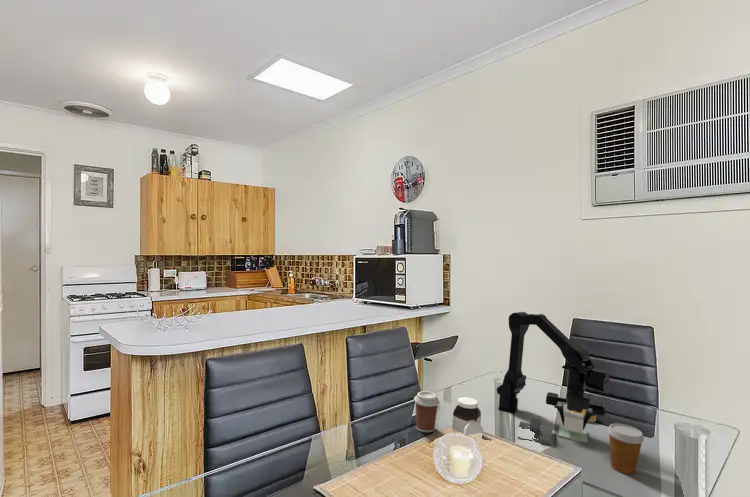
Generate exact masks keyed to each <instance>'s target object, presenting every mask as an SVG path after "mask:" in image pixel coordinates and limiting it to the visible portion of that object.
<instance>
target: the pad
mask: <svg viewBox="0 0 750 497" xmlns="http://www.w3.org/2000/svg"><path fill="white" fill-rule="evenodd" d="M558 437H560V438H562V439H568V440H572V441H575V442H580V443H583V444H588V431H587V430H583V433H579V432H574V431H570V430H566V429H564V425H560V424H559V427H558Z"/></svg>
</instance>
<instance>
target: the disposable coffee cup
mask: <svg viewBox="0 0 750 497" xmlns="http://www.w3.org/2000/svg"><path fill="white" fill-rule="evenodd" d="M607 432H608V436H609V438H608V440H609V451H610V464H611V465H610V467H612V469H614V470H615V471H616V472H619V473H621V474H624V475H634V474H636V469H637V465H638V460H639V458H640V457H639V456H640V452H641V448H642V443H643V441H644V440H645V437H644V435H643V431H641V430H639V429H638V428H636V427H634V426H631V425H628V424H623V423H610V425H609V426H608V427H607Z"/></svg>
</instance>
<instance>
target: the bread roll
mask: <svg viewBox="0 0 750 497" xmlns="http://www.w3.org/2000/svg"><path fill="white" fill-rule="evenodd" d="M569 411H570V410H569ZM570 412H574V413H579V412H577V411H570ZM579 414H583V419H584V414H585V409H583V411H582V412H581V413H579ZM596 421H597V414H596V415H595V416H591V417H590V418H589V420H588V422H587V423H595V422H596Z"/></svg>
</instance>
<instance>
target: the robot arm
mask: <svg viewBox="0 0 750 497" xmlns="http://www.w3.org/2000/svg"><path fill="white" fill-rule="evenodd" d="M530 325H533V326H534V325H535V326H537V327H538V328H539V329H540V330H541V332H543V333H544V334H545V335H546V337H548V338H549V339H550V340H551V341H552V342H553V343H554V345H556V346H557V348H558V349H559V350H560V352H561V355H562V357H564V359H565V360H566V363H565V364H563V365H562V366H561V369H563V370H567V379H566V380H567V381H566V393H565V394H566V395H565V397H560V396H559V393H556V392H555V393H554V392H549V391H548V392H547V393H546V397H545V405H548V406H549V405H550V406H553V407H554V408H555V409H557V411H558V413H559V416H560V420H561V424H562V426H564V417H565V407H564V405H566V409H567V411H577V412H579V413H581V412H582V411H583V409H585V414H584V419H583V420H584V421H583V431H585V428H586V425H587V424H588V423H589V422H588V420H589V418H590V417H591V416H595V415H596V416H597V415H598V416H603V417H604V416H606V406H605V404H604V403H603V402H601V401H596V400H591V402H590V398H587V397H585V390H586V387H587V388H588V389H591V390H595V391H598V392H601V393H605V394H607V393H608V392H609V390H610V389H611V380H610V376H609V372H608V371H603V370H598V369H596V366H595V365H594V363H593V361H592V360H591V358H590V353H589V351H588V350H586V348H584V347H582V346H581V345H580V344H578V343H576V342H574V341H573V340H570V339H569V338H568V337H567V336H566V335H565V334H564V333H563V332H562V331H561V330H560V329H559V328H558V327H557V326H556V325H554V323H552V322H551V321H550V320H549V319H548V318H547V316H546V315H545V314H544V313H539V314H536V313H535V314H534V313H533V314H532V313H531V314H530V313H528V312H525V311H519V312H513V313H510V315H509V316H508V328H509V330H510V333H511V336H510V337H511V338H510V339H511V340H510V349H509V361H508V369H507V370H506V372H505V374H504V376H503V377H504V378H503V381H502V384H501V385H499V386H498V387H497V388H496V393H497V394H498V395H499V402H498V408H497V410H500V411H504V412H509V413H513V414H515V413H516V411H517V410H518V405H519V398H518V397H517V396H518V394H520V392H521V391H523V389H524V388H525V386H527V384H526V380H527V375H525V374H523V371H522V368H523V367H522V364H523V355H524V345H525V344H524V343H525V336H526V333H527V332H528V330H529V328H530Z"/></svg>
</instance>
